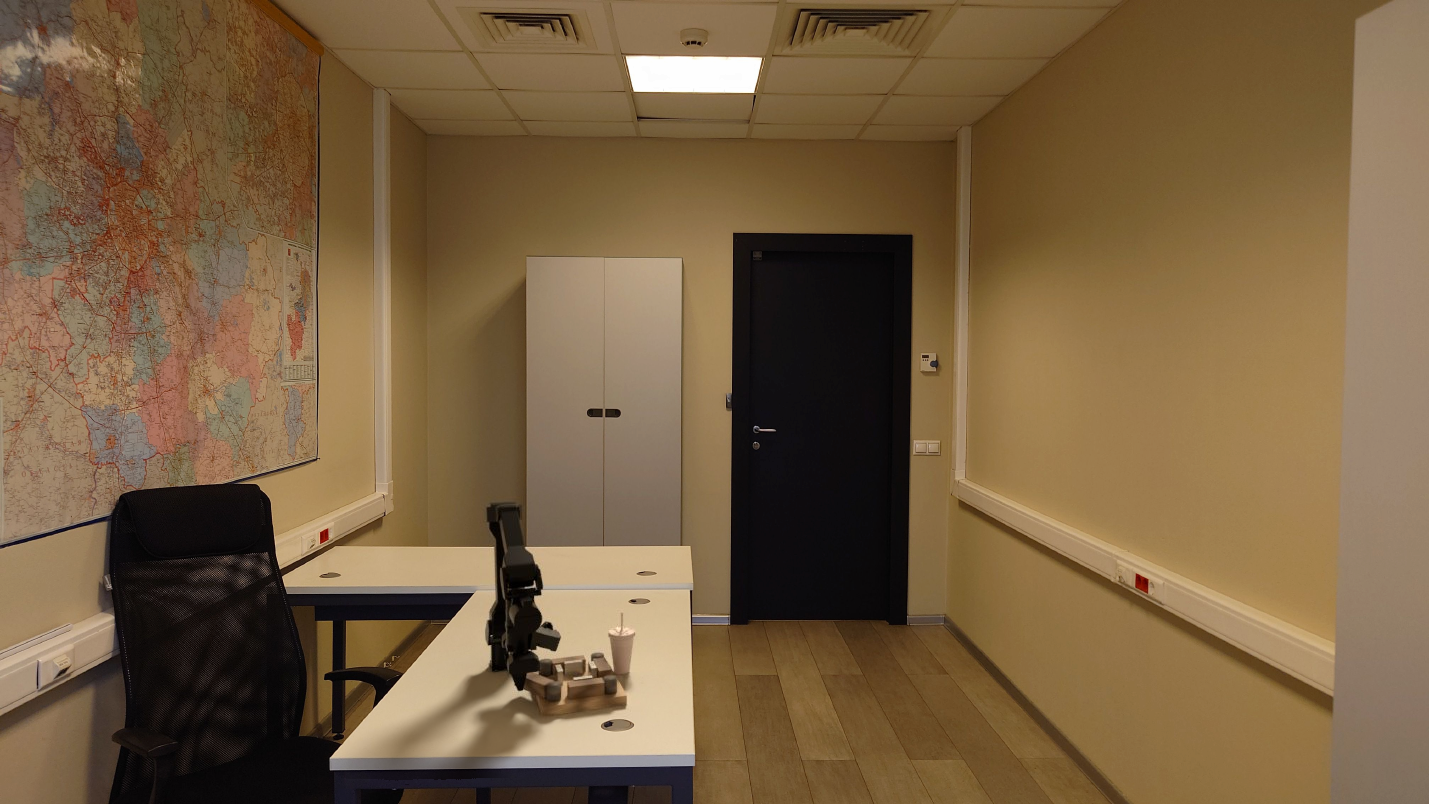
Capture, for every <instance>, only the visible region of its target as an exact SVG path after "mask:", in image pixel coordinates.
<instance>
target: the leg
mask: <svg viewBox="0 0 1429 804" xmlns="http://www.w3.org/2000/svg"><path fill="white" fill-rule="evenodd" d="M513 686H515V683H514V682H513ZM523 691H526V692H529V693H531V694H533V695H534V696H535V695H538V696H540V697H542V698H546V697H547V700H549V701H557V700H560V699H561V682H558V681H553V680H550V679H548V678H546V677H543V676H541V675H538V674H536V673H533V672H532V673H527V676H526V680H525V684H524V688H523Z"/></svg>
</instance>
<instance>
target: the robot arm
mask: <svg viewBox="0 0 1429 804" xmlns="http://www.w3.org/2000/svg"><path fill="white" fill-rule="evenodd" d="M516 503H517V502H516V501H515V500H509V501H494V502H488V506H485V507H484V508H483V520H484V523H486V529H487V530H488V531H489V533H490V535H491V536H492V538H493V550H494V551H493V552H494V554H493V555H494V557H493V558H494V583H495V584H494V586H495V589H494V590H495V592H494V593H495V601H494V602H493V604H492V605H491V608H490V609H489V611H488V616H489V617H488V619H487V620H486V624H485V629H484V636H485V637H484V639H485V640H484V641H485V643H486V644H487V646H488V647H489V646H490V660H489V665H490V670H491V672H493V673H494V672H501V671H507V672H508V675H509V676H510V677H511V678H512V681H513V684H514V683H515V685H514V686H515V688H516V690H517V691H518V692H521V691H524V689H523V688H524V684H525V680H526V676H527V673H532V672H538V671H540V661H539V660H540V658H539V656H538V654H536V653H535V652H534V651H537V650H538V648H542V649H546V650H549V651H551V652H557V650H558V647H559V644H560V642H561V639H562V635H561V634H560V632H559V631H558V630H557V629H554V625H553V623H552V622H551V621H547V620H545V621H544V622H543V615H542V613H541V610H540V609H539V607H538V605H537V604H536V601H535V597H540V596H542V591H543V589H544V582H543V578H542V577H543V576H542V572H541V568H539V565H538V564H536V562H535V561H536V560H535V559H534V556H533V553H531V552H530V551H528V550H527V549H526V546H525V539H524V536H523V531H522V526H521V521H522V520H524V519H523V518H524V515H523V504H516ZM534 586H535V587H534ZM542 622H543V623H542ZM537 647H538V648H537Z"/></svg>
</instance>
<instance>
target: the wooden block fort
mask: <svg viewBox="0 0 1429 804" xmlns="http://www.w3.org/2000/svg"><path fill="white" fill-rule="evenodd" d="M573 660H582V661H583V674H581V675H573V676H565V675H564V662H565V661H573ZM539 661H540V671H538V672H533V673H536V674H538V675H541V676H543V677H546V678H548V679H550V680H553V681H556V679H555V665H560V664H561V667H562V669H563V685H561V699H560V700H557V701H549V700H547V697H546V698H542V697H540V696H538V695H535V694H534V696H535V699H536V702H537V703H536V704H537V707H538V709H539V713H540V717H542V718H544V717H550V716H557V715H566V714H572V713H579V712H585V711H592V710H597V709H598V710H599V709H600V710H601V709H606V708H613V707H618V706H626V705H628V704H627V703H628V700H627V699H628V695H627V693H626V691H625V689H624V688H623V686H622V684H621V683H620V680H619V679H618V677H617V675H616V673H615V672H614V669H612V666H611V664H610V662H609V661H608V660H607V659H606V657H605V654H604V653H603V652H600V651H599V652H598V651H597V652H593V653H591V655H590V662H592V661H594V663H595V665H596V667H597V678H594V679H587V680H579V681H573V678H575V677H582V676H589V675H588V663H587V662H586V661H587V658H586V657H585V655H584V654H583V655H574V656H564V657H556V658H551V659H550V658H542V659H539Z"/></svg>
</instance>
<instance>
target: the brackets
mask: <svg viewBox="0 0 1429 804" xmlns="http://www.w3.org/2000/svg"><path fill="white" fill-rule="evenodd" d="M587 664H588V675H589V676H582V677H575V678H573V681H579V680H587V679H594V678H597V667H596V665H595V663H594V661H592V662H591V661H588V662H587ZM581 674H583V661H582V660H573V661H565V662H564V675H565V676H573V675H581ZM555 679H556V681H558V682H561V685H563V669H562V667H561V664H560V665H555Z"/></svg>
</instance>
